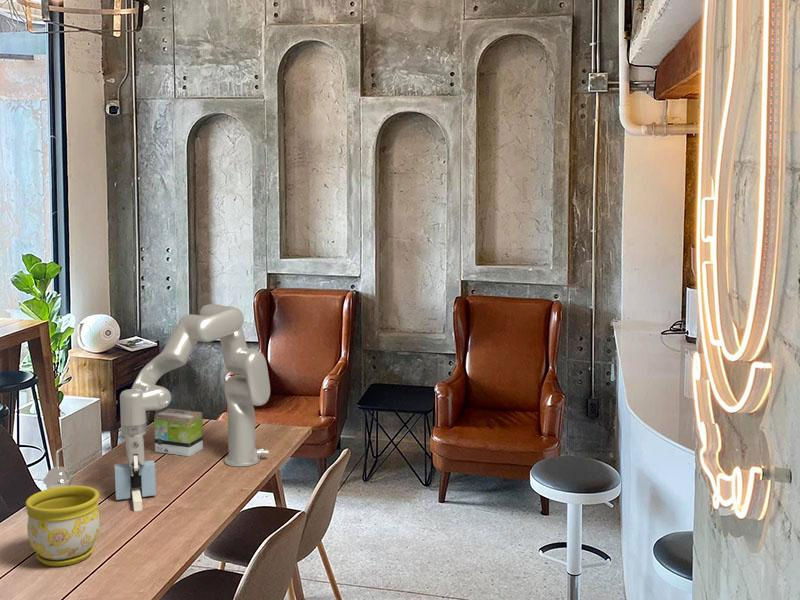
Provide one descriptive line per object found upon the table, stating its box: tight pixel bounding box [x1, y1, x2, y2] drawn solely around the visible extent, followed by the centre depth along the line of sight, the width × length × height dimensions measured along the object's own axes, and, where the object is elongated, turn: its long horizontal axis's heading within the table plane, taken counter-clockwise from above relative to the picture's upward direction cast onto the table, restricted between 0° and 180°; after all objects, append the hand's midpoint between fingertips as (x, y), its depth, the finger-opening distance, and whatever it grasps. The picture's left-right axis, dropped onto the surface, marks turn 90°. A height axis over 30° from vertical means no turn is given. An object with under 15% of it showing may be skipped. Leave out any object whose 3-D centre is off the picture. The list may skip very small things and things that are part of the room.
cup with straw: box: [43, 442, 74, 490], centre depth 249 cm, size 8×9×20 cm
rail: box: [130, 487, 143, 512], centre depth 261 cm, size 2×24×3 cm, turn 21°
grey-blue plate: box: [114, 459, 157, 501], centre depth 261 cm, size 12×4×10 cm, turn 111°
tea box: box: [153, 408, 204, 458], centre depth 308 cm, size 15×10×15 cm
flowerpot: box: [25, 485, 101, 567], centre depth 218 cm, size 18×18×16 cm
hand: (135, 483), depth 261 cm, fingers closed on grey-blue plate, 4 cm apart
